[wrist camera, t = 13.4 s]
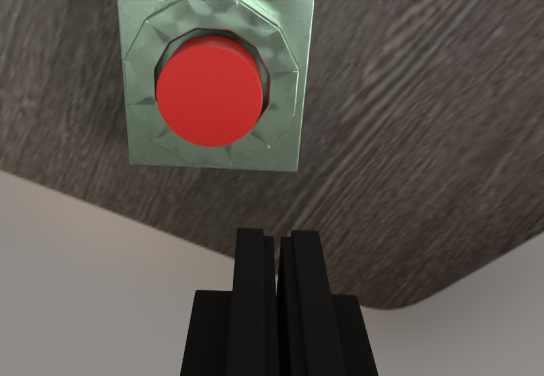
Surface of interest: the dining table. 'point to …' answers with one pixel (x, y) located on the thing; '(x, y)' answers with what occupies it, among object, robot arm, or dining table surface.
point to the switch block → (249, 34)
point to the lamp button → (210, 91)
